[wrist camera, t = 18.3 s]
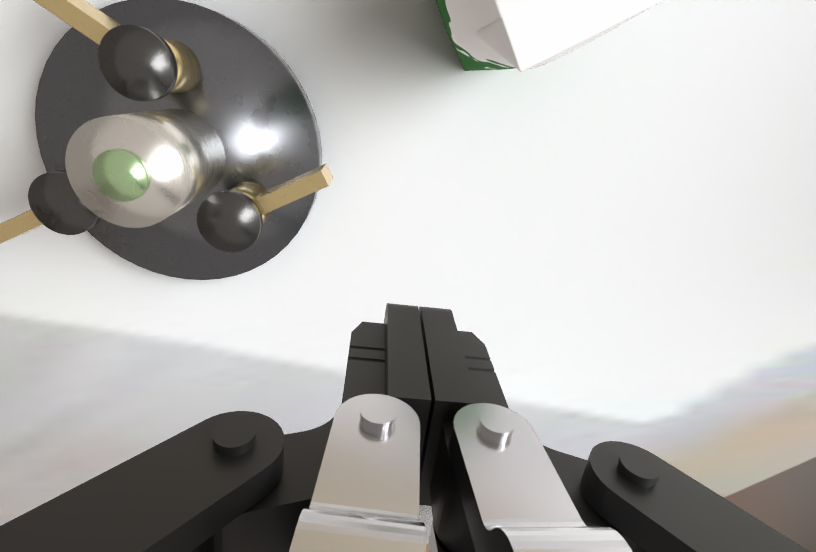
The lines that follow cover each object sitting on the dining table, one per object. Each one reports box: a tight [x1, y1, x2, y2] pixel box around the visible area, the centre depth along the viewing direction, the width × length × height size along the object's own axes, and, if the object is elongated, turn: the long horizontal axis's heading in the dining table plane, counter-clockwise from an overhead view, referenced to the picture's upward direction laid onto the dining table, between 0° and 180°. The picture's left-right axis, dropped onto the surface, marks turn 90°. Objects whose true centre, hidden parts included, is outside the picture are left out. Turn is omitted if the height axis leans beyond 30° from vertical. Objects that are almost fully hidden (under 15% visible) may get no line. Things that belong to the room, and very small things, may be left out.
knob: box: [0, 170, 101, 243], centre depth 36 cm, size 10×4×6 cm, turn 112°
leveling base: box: [35, 0, 322, 280], centre depth 35 cm, size 22×22×12 cm
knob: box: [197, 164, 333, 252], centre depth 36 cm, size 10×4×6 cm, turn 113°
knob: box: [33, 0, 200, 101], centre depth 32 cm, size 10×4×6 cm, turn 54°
